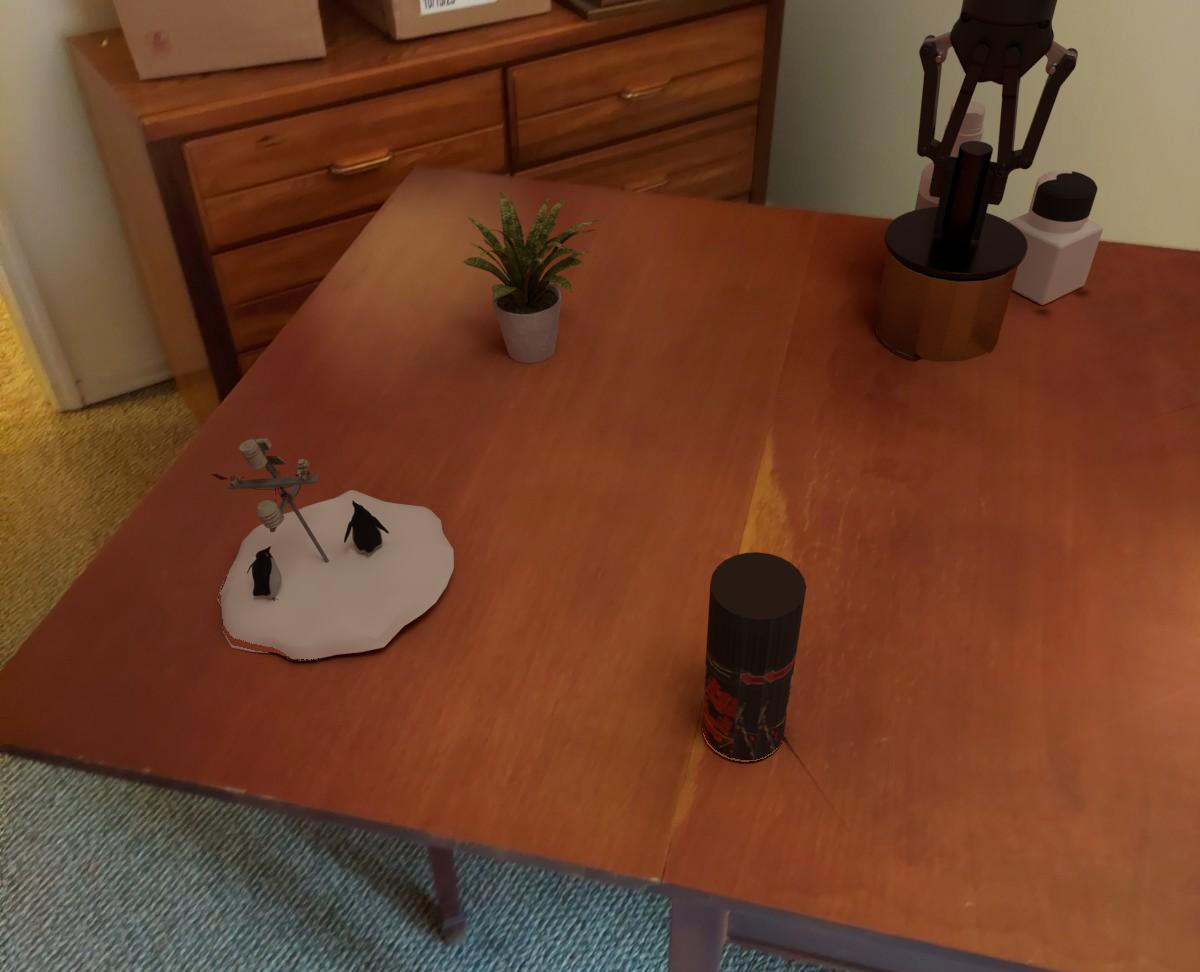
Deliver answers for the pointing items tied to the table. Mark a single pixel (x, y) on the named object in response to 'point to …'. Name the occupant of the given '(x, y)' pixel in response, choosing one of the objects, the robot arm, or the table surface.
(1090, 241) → the medicine bottle
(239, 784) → the table surface
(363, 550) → the figurine
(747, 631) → the deodorant
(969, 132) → the spray bottle
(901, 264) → the tin
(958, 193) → the tin lid
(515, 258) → the house plant
